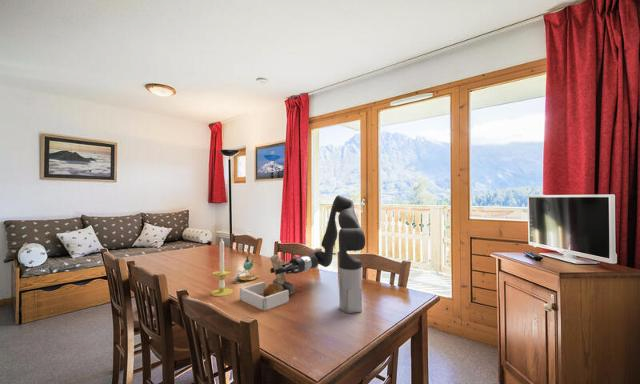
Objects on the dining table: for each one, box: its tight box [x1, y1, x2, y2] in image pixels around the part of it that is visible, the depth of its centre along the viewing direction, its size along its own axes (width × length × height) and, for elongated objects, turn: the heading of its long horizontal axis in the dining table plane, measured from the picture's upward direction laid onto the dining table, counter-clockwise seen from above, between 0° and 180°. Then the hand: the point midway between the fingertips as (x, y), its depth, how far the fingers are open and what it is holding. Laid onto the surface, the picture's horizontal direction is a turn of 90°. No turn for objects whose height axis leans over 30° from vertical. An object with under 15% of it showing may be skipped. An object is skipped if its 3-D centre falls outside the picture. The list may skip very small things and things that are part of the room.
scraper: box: [269, 253, 295, 295], centre depth 132 cm, size 3×12×18 cm, turn 47°
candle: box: [210, 237, 233, 297], centre depth 135 cm, size 10×10×27 cm
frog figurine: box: [233, 254, 261, 285], centre depth 157 cm, size 10×18×15 cm, turn 133°
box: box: [239, 281, 290, 312], centre depth 125 cm, size 13×18×5 cm
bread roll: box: [262, 283, 285, 297], centre depth 129 cm, size 10×10×8 cm
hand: (273, 271), depth 129 cm, fingers closed on scraper, 3 cm apart
